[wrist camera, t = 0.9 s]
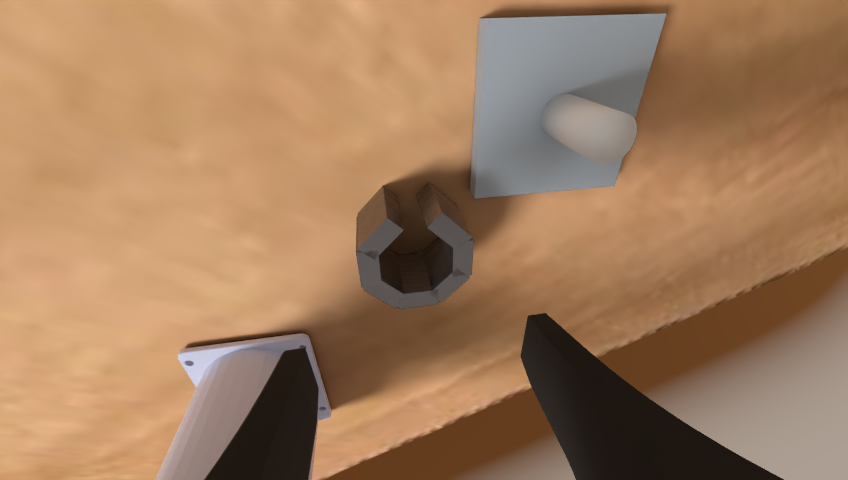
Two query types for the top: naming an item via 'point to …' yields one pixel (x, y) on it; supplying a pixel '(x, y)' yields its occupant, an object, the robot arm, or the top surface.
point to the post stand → (557, 100)
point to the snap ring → (420, 272)
